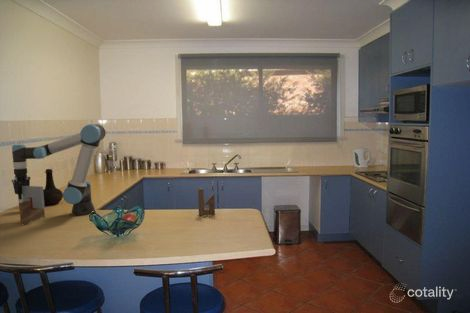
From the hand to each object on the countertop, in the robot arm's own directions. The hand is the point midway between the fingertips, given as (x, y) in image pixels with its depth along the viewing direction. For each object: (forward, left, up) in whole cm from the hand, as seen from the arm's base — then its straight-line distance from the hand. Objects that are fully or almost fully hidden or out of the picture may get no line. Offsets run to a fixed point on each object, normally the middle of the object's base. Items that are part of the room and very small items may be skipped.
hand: (23, 203), depth 235 cm
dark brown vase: (+16, -43, -12) cm, 48 cm away
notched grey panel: (-6, 0, -2) cm, 7 cm away
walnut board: (-7, 0, -12) cm, 13 cm away
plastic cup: (+16, -21, -12) cm, 29 cm away
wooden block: (-117, -31, -12) cm, 121 cm away
